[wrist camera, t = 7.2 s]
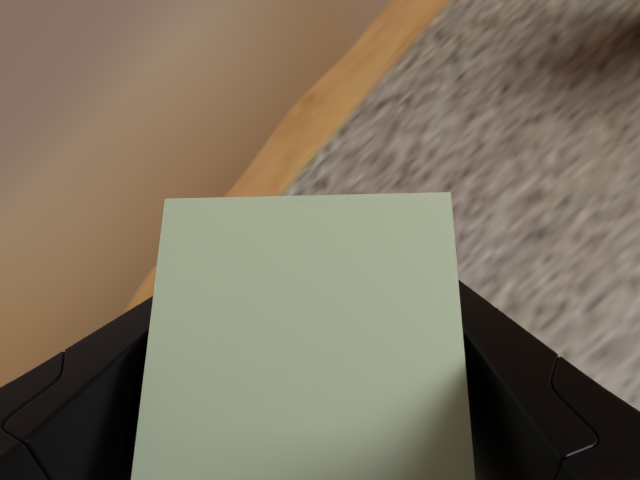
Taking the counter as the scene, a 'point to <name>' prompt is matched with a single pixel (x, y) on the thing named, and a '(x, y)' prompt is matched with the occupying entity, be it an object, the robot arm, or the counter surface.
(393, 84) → the counter surface
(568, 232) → the counter surface
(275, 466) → the sage block
